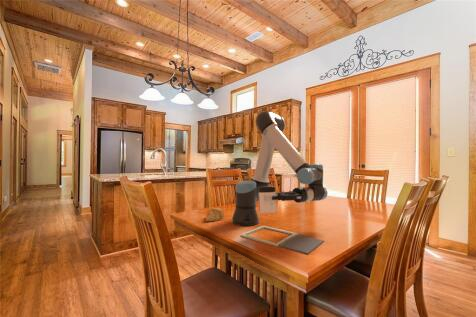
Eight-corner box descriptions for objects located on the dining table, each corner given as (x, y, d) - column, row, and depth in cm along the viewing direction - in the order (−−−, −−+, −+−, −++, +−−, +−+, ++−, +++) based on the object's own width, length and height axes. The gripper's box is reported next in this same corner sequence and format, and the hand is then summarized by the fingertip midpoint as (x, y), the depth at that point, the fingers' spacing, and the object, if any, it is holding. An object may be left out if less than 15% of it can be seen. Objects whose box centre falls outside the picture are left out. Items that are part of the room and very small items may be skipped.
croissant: (211, 229, 128) (217, 217, 127) (197, 219, 131) (203, 207, 130) (226, 219, 148) (231, 209, 147) (214, 211, 151) (219, 200, 150)
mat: (279, 246, 94) (279, 245, 94) (298, 235, 108) (298, 234, 108) (308, 254, 87) (308, 253, 87) (324, 241, 101) (324, 240, 101)
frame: (240, 236, 106) (240, 234, 106) (263, 227, 122) (263, 225, 122) (277, 246, 94) (277, 244, 94) (297, 234, 109) (297, 233, 109)
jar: (265, 213, 104) (264, 187, 105) (255, 211, 111) (254, 186, 112) (280, 211, 108) (279, 186, 109) (269, 210, 115) (268, 186, 116)
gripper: (312, 204, 111) (274, 209, 99) (292, 200, 122) (256, 203, 110) (312, 188, 111) (274, 191, 99) (292, 186, 122) (256, 188, 111)
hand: (264, 198), depth 105 cm, fingers closed on jar
